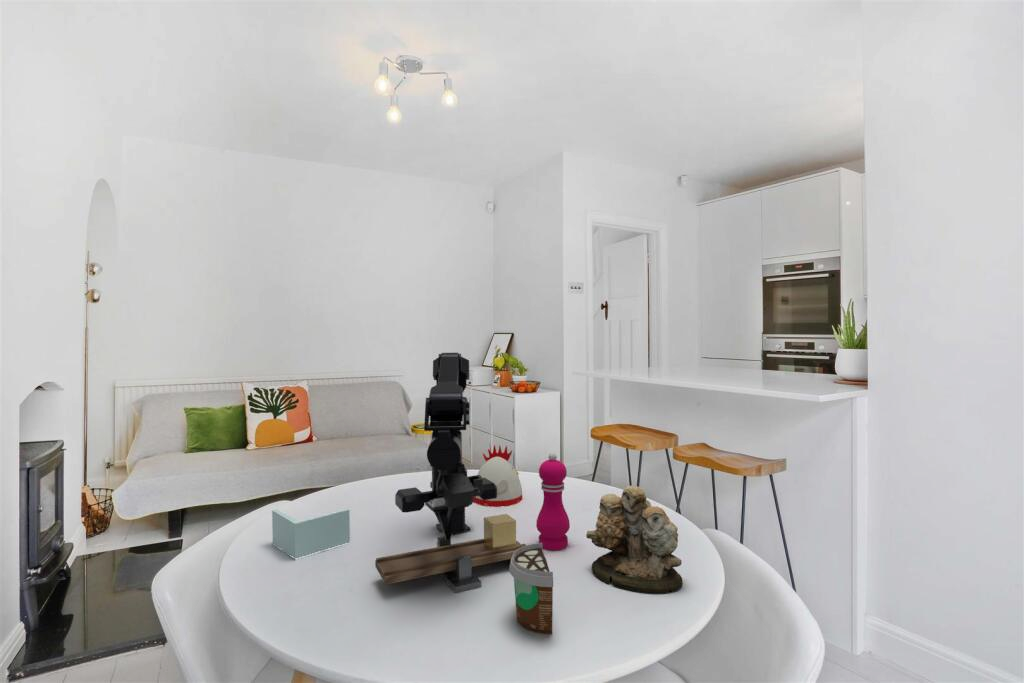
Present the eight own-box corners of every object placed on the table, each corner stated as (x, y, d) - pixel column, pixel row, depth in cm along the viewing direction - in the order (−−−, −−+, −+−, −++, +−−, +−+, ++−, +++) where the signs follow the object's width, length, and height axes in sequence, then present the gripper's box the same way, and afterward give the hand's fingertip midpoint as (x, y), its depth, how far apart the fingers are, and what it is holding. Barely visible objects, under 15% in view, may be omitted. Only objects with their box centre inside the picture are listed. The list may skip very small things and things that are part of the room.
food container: (506, 600, 92) (506, 542, 92) (542, 599, 92) (541, 541, 92) (512, 642, 80) (512, 575, 79) (553, 639, 80) (553, 573, 80)
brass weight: (492, 552, 103) (493, 524, 103) (483, 544, 107) (483, 517, 107) (515, 548, 106) (516, 520, 106) (506, 540, 110) (506, 513, 109)
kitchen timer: (522, 507, 142) (522, 450, 141) (470, 507, 142) (470, 450, 141) (521, 491, 155) (521, 440, 155) (474, 491, 156) (474, 440, 155)
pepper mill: (568, 552, 112) (567, 457, 111) (534, 550, 113) (533, 456, 113) (571, 539, 119) (570, 449, 118) (539, 537, 120) (538, 448, 120)
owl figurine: (577, 580, 99) (576, 489, 99) (596, 557, 110) (596, 474, 110) (677, 601, 91) (676, 501, 91) (688, 573, 102) (687, 484, 102)
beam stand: (455, 592, 95) (454, 564, 95) (429, 560, 108) (428, 536, 108) (536, 573, 102) (536, 547, 102) (502, 545, 115) (502, 522, 115)
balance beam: (385, 584, 93) (385, 574, 93) (375, 566, 100) (375, 557, 100) (527, 555, 105) (527, 546, 105) (509, 541, 112) (509, 532, 112)
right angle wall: (349, 543, 118) (349, 509, 117) (295, 560, 109) (295, 523, 109) (324, 529, 126) (324, 497, 126) (272, 544, 118) (272, 510, 117)
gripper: (410, 473, 90) (411, 565, 90) (509, 460, 98) (510, 544, 99) (394, 459, 100) (394, 542, 100) (485, 449, 108) (485, 525, 109)
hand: (447, 539), depth 102 cm, fingers closed
